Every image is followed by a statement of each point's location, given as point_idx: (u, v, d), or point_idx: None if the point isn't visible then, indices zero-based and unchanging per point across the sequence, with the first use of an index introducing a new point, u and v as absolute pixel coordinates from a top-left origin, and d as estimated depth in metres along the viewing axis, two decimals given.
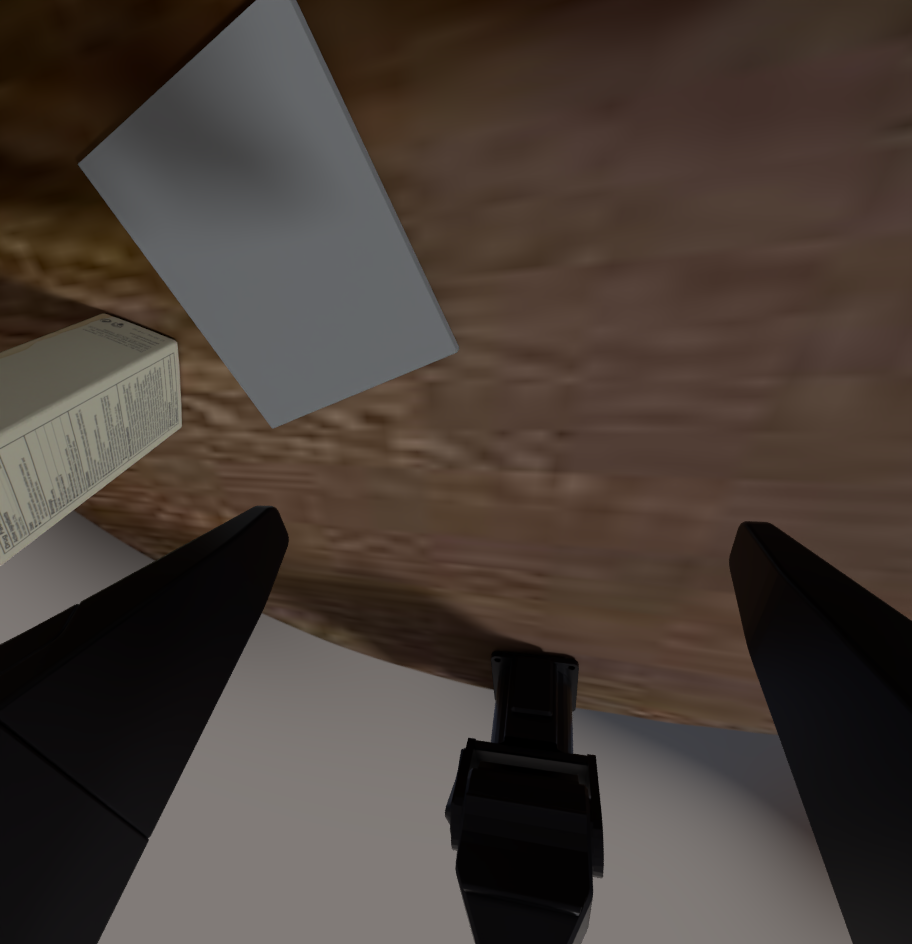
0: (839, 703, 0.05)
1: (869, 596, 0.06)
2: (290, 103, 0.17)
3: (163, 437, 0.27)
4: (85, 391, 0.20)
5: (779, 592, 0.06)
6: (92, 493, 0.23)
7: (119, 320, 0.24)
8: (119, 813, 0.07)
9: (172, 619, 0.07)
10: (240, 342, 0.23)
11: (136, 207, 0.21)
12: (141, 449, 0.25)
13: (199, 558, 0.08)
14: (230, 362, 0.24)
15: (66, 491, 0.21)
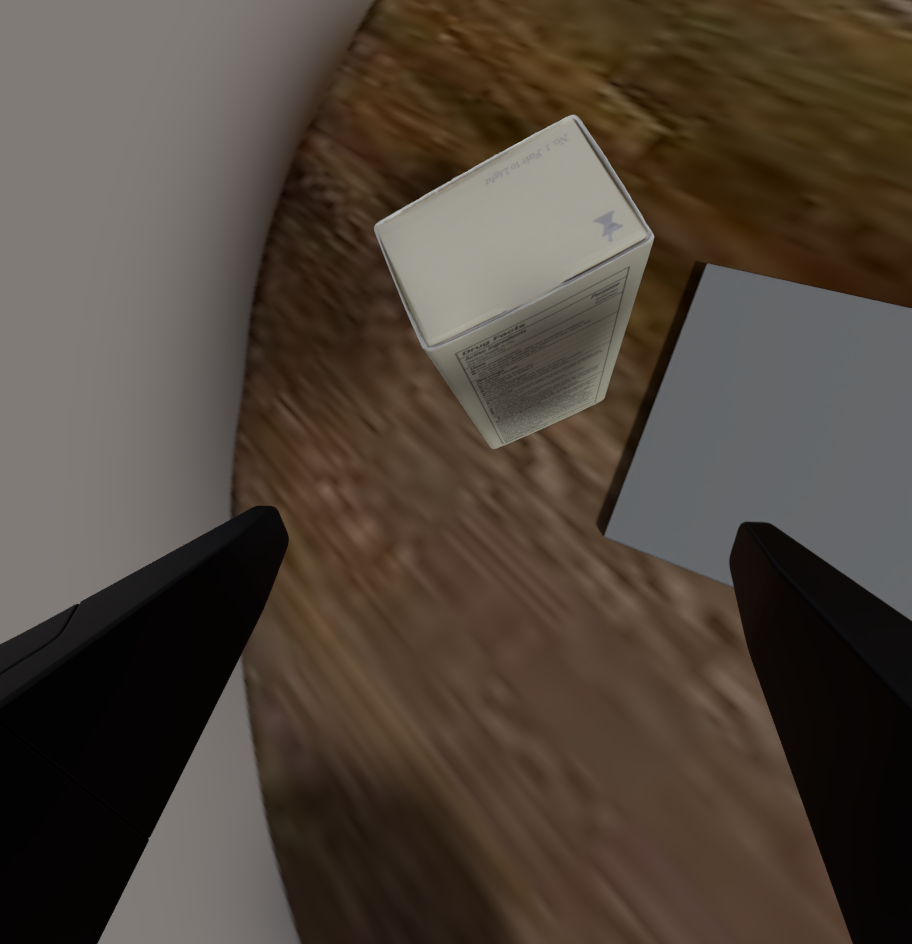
0: (839, 703, 0.05)
1: (869, 596, 0.06)
2: None
3: (494, 440, 0.21)
4: (618, 347, 0.16)
5: (779, 592, 0.06)
6: (473, 408, 0.16)
7: None
8: (119, 813, 0.07)
9: (172, 619, 0.07)
10: (678, 452, 0.21)
11: (718, 314, 0.21)
12: (497, 427, 0.20)
13: (199, 558, 0.08)
14: (643, 454, 0.21)
15: (501, 381, 0.15)
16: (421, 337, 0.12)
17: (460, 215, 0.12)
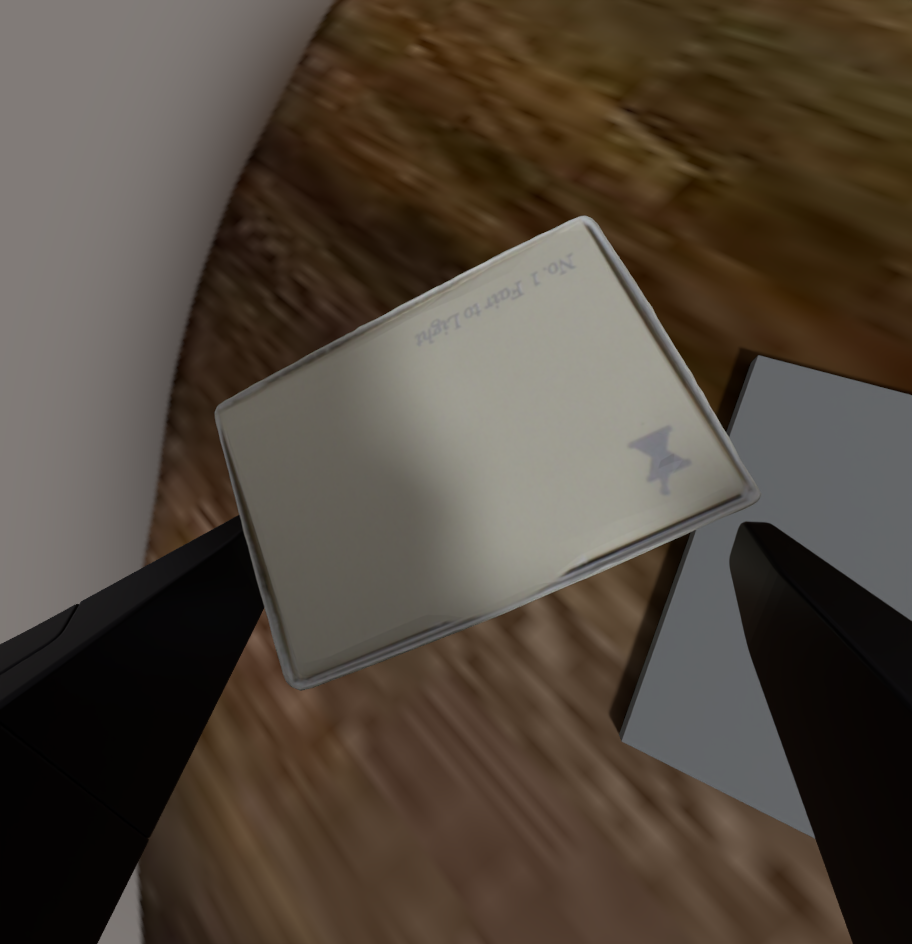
0: (839, 703, 0.05)
1: (869, 596, 0.06)
2: None
3: None
4: None
5: (779, 592, 0.06)
6: None
7: None
8: (119, 813, 0.07)
9: (172, 619, 0.07)
10: (724, 624, 0.15)
11: (775, 428, 0.16)
12: None
13: (199, 558, 0.08)
14: (675, 624, 0.15)
15: None
16: (286, 654, 0.06)
17: (367, 405, 0.06)
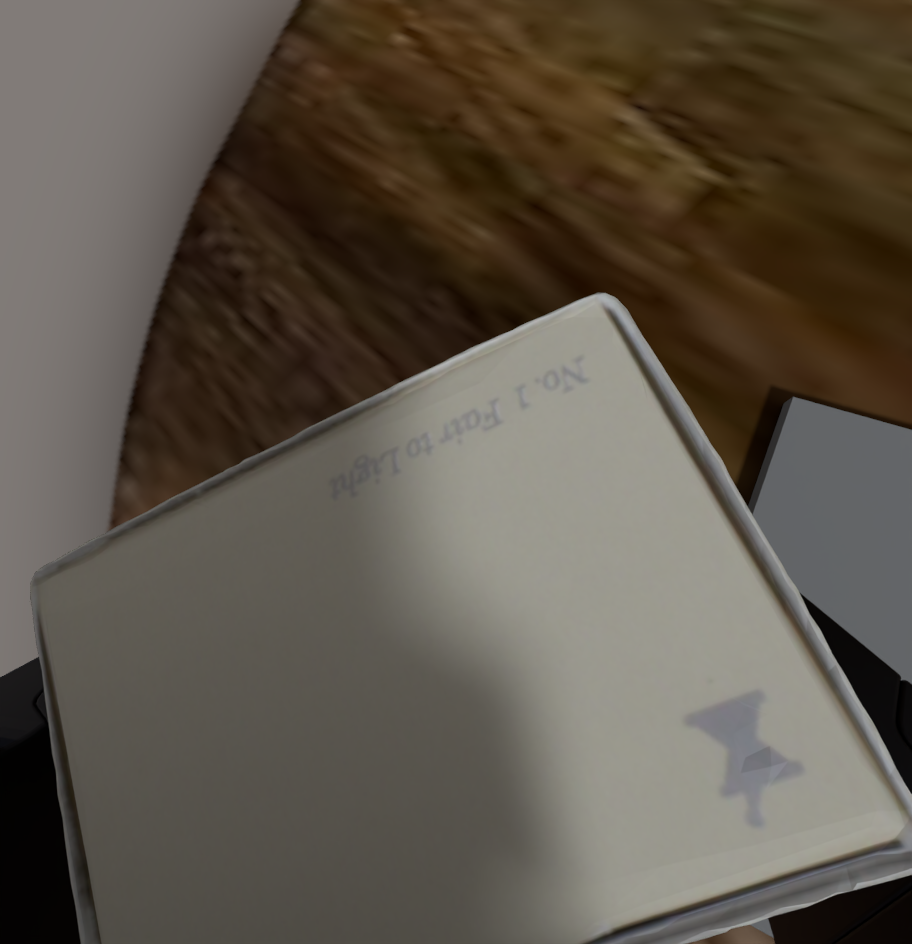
0: None
1: None
2: None
3: None
4: None
5: None
6: None
7: None
8: None
9: None
10: None
11: (814, 484, 0.13)
12: None
13: None
14: None
15: None
16: None
17: (251, 595, 0.04)
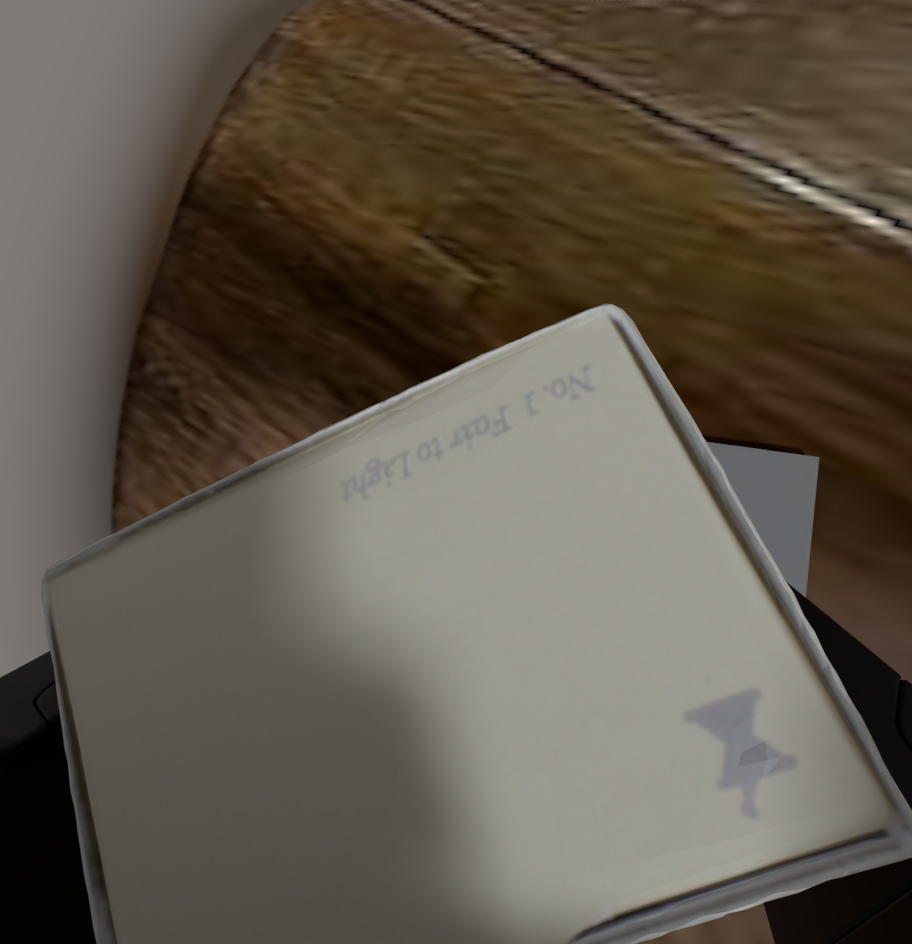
0: None
1: None
2: (765, 515, 0.19)
3: None
4: None
5: None
6: None
7: None
8: None
9: None
10: None
11: None
12: None
13: None
14: None
15: None
16: None
17: (263, 594, 0.04)
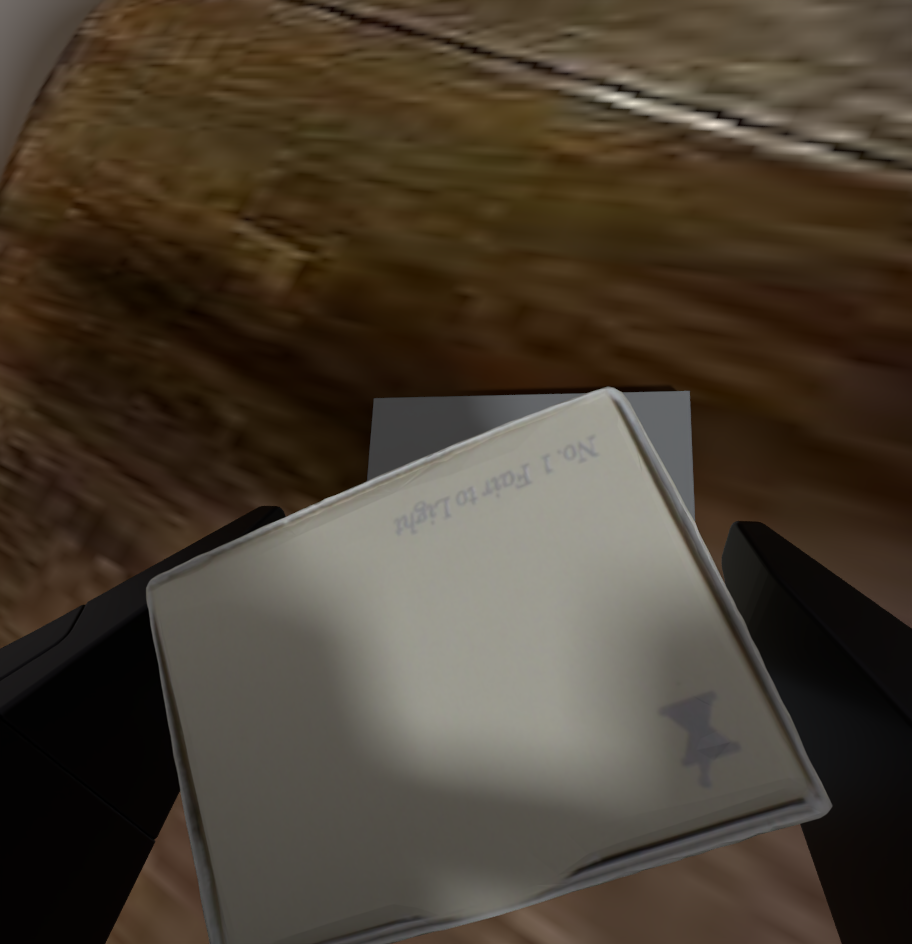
0: (827, 702, 0.05)
1: (858, 595, 0.06)
2: None
3: None
4: None
5: (769, 591, 0.06)
6: None
7: None
8: (126, 814, 0.07)
9: None
10: None
11: (399, 455, 0.18)
12: None
13: None
14: None
15: None
16: (217, 927, 0.05)
17: (331, 606, 0.05)
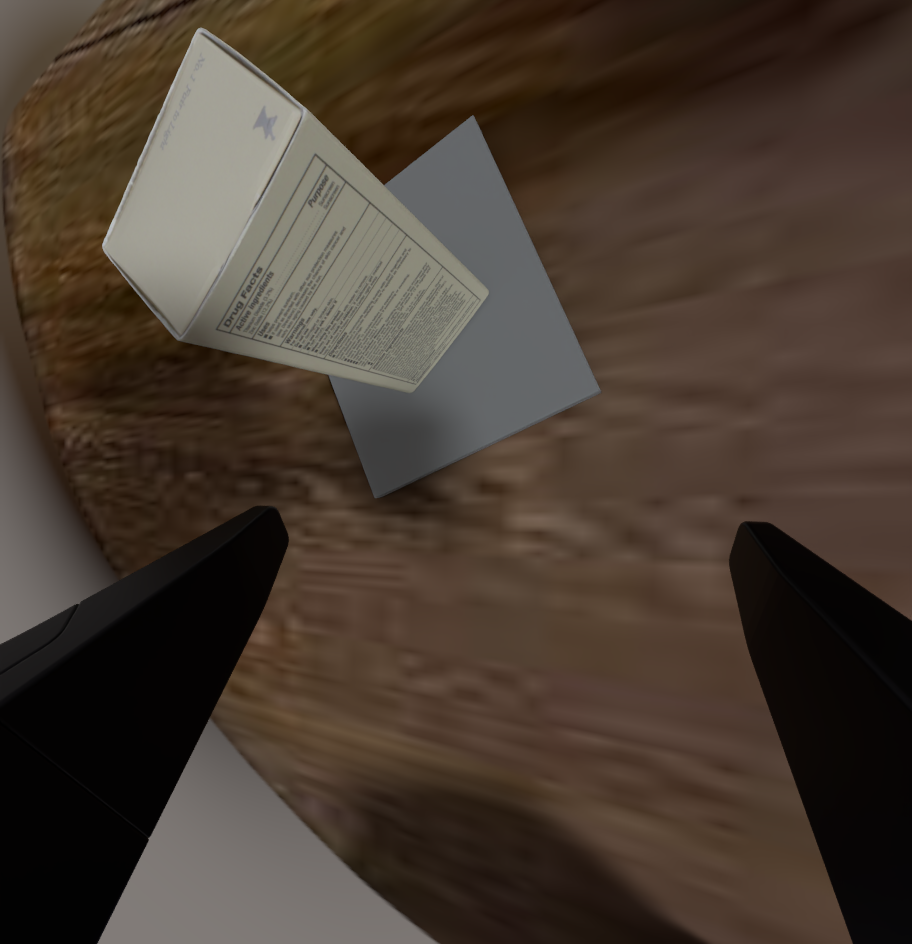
0: (839, 703, 0.05)
1: (870, 596, 0.06)
2: (463, 190, 0.21)
3: (398, 384, 0.21)
4: (429, 236, 0.15)
5: (779, 592, 0.06)
6: (322, 368, 0.16)
7: None
8: (119, 813, 0.07)
9: (172, 619, 0.07)
10: (368, 400, 0.23)
11: None
12: (383, 372, 0.19)
13: (199, 558, 0.08)
14: (352, 422, 0.24)
15: (318, 330, 0.14)
16: (173, 329, 0.11)
17: (155, 194, 0.11)
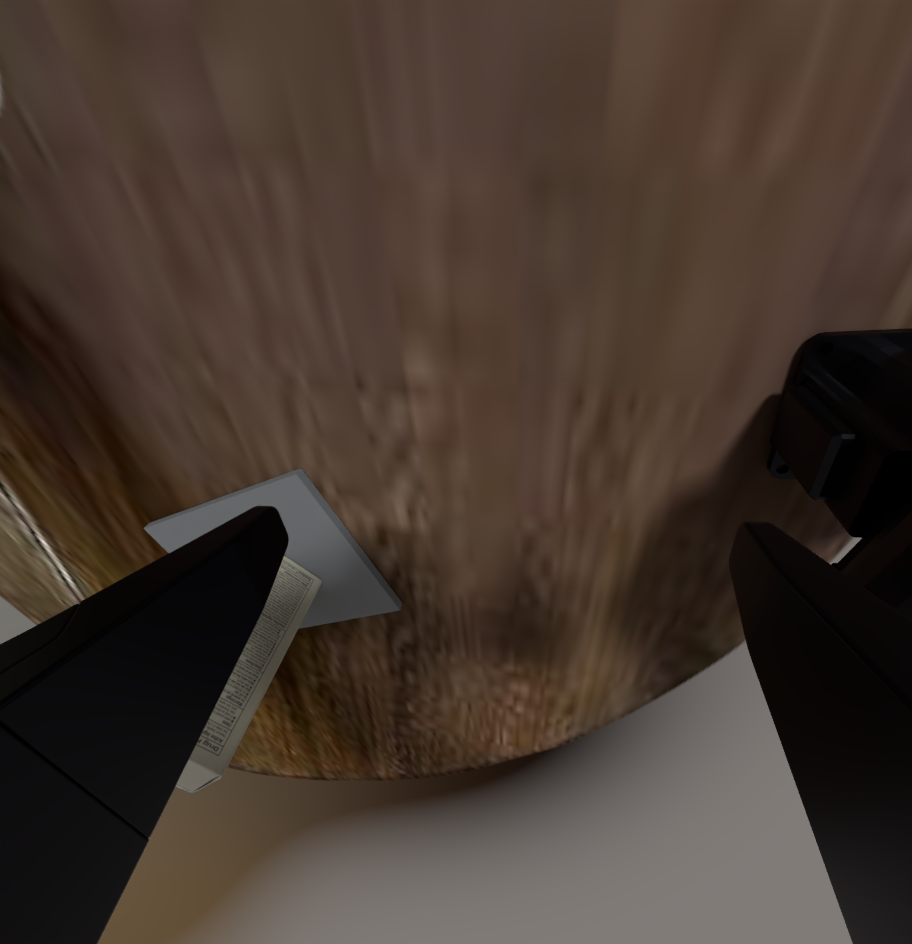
0: (839, 703, 0.05)
1: (869, 595, 0.06)
2: (188, 538, 0.31)
3: (308, 597, 0.29)
4: None
5: (779, 592, 0.06)
6: (270, 672, 0.25)
7: None
8: (119, 813, 0.07)
9: (172, 619, 0.07)
10: (332, 605, 0.32)
11: None
12: (291, 616, 0.28)
13: (199, 558, 0.08)
14: (349, 615, 0.33)
15: (238, 682, 0.24)
16: (218, 777, 0.21)
17: None
